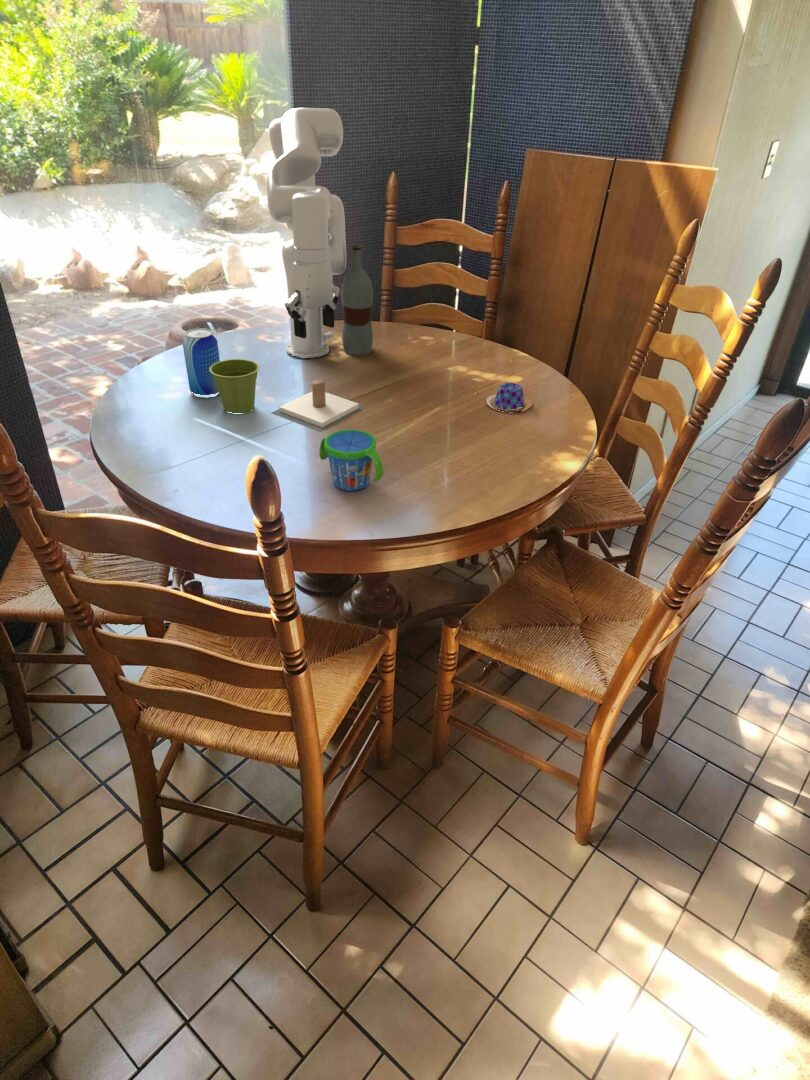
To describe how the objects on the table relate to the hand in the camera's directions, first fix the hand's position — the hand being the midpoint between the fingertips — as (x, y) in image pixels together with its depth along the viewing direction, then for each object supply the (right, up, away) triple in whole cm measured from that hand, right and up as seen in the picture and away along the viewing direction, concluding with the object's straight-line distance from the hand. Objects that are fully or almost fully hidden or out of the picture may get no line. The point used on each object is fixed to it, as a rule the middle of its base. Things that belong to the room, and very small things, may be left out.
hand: (314, 331), depth 164 cm
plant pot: (-20, -17, +11) cm, 29 cm away
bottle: (+7, +8, +47) cm, 48 cm away
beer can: (-31, -11, +19) cm, 38 cm away
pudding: (+48, -14, +20) cm, 54 cm away
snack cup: (+10, -37, -15) cm, 41 cm away
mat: (0, -17, +12) cm, 21 cm away
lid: (0, -16, +12) cm, 20 cm away
